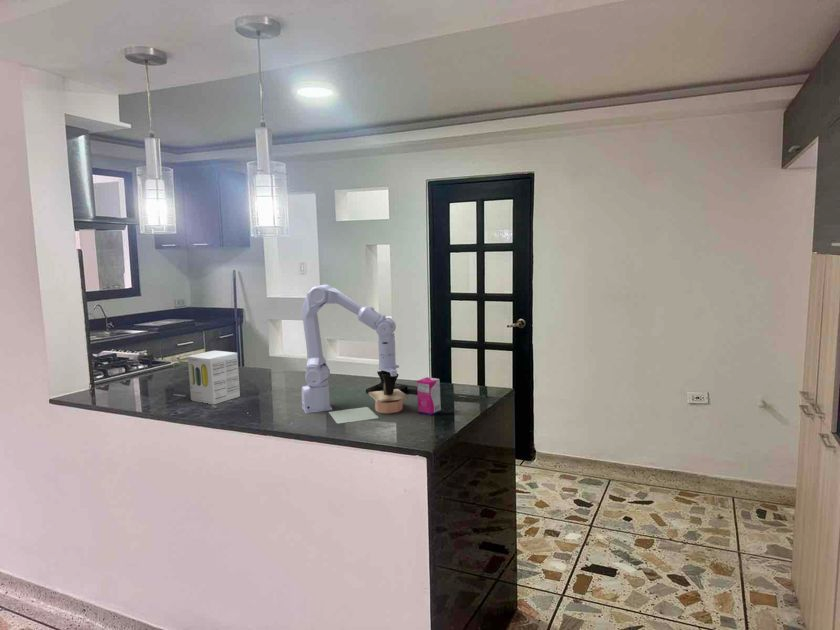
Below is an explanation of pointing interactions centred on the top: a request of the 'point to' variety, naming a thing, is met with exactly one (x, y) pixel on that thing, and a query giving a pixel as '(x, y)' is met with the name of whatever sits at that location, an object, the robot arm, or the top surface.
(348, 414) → the mat
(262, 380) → the top surface
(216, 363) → the supplement box
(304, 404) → the robot arm
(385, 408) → the bowl
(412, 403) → the top surface
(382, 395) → the lid
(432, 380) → the supplement box
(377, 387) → the door handle
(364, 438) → the top surface
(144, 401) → the top surface
